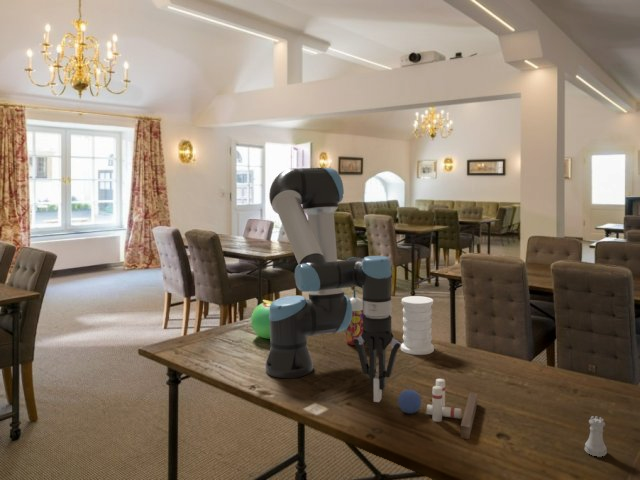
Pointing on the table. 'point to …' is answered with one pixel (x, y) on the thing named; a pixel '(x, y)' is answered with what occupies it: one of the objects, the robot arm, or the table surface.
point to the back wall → (468, 416)
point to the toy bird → (261, 319)
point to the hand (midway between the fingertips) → (377, 399)
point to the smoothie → (355, 320)
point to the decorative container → (417, 325)
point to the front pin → (447, 412)
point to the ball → (409, 401)
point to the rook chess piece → (596, 438)
